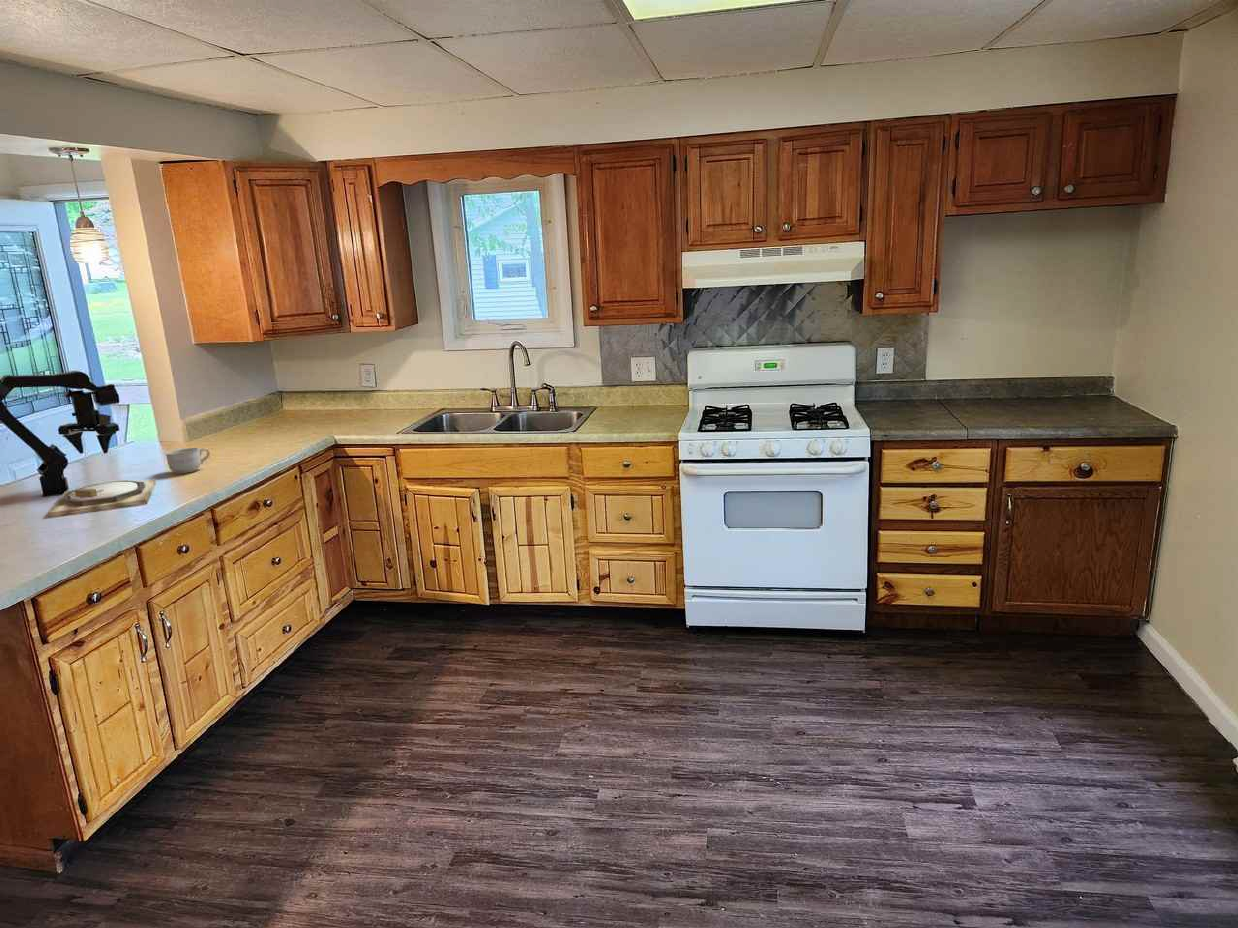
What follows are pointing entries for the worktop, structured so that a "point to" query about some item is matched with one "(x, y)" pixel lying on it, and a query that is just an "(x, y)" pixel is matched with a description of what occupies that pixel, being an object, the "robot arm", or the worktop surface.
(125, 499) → the dial base
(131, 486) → the dial
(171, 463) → the teacup
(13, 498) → the worktop surface
